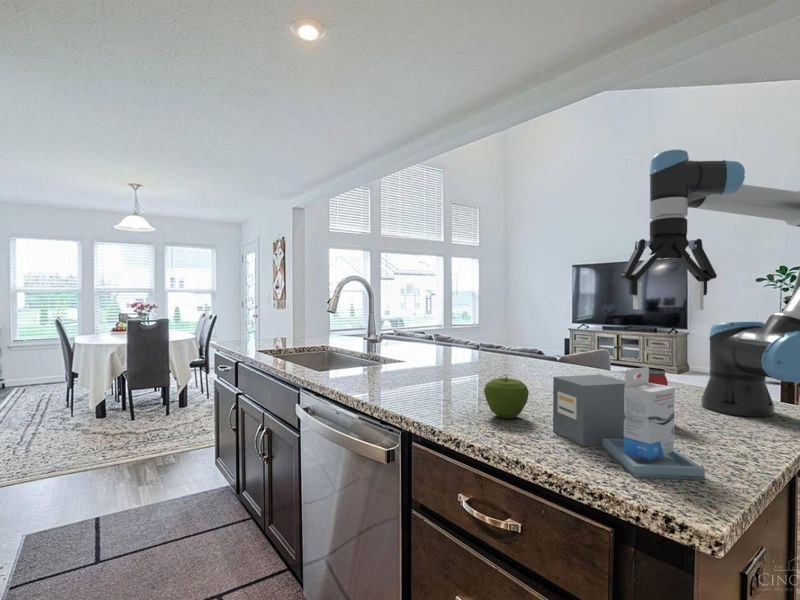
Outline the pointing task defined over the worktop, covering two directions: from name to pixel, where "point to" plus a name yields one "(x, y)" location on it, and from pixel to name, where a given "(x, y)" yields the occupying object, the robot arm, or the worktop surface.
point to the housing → (588, 408)
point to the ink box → (647, 416)
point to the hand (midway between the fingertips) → (667, 309)
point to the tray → (654, 463)
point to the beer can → (656, 377)
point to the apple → (506, 397)
